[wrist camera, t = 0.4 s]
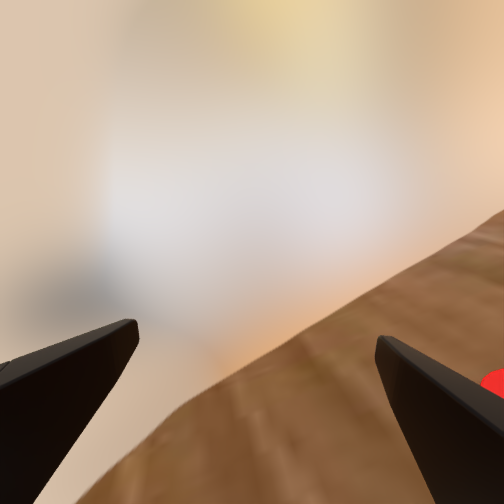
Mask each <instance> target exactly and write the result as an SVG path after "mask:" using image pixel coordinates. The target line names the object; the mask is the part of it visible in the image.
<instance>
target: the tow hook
mask: <svg viewBox="0 0 504 504" xmlns="http://www.w3.org/2000/svg"><path fill="white" fill-rule="evenodd" d="M480 386H482V387H484V388H486V389H487V390H489V391H491V392H493V393H495V394H496V395H498V396H500V397H502V398H504V369H499V370H496V371H493V372H490V373H489V374H488V375H487V376H485V377H484V378H483V380H482V382H481V384H480Z"/></svg>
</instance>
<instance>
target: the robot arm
mask: <svg viewBox="0 0 504 504" xmlns="http://www.w3.org/2000/svg"><path fill="white" fill-rule="evenodd" d="M138 343H139V331H138V323H137V321H136V320H135V319H124V320H120V321H118V322H115V323H112V324H109V325H107V326H104V327H101V328H98V329H96V330H93V331H90V332H87V333H84V334H82V335H79V336H76V337H73V338H71V339H68V340H65V341H62V342H60V343H57V344H54V345H52V346H49V347H46V348H43V349H40V350H38V351H35V352H32V353H29V354H27V355H24V356H21V357H18V358H16V359H13V360H12V361H11V362H10V361H8V362H5V363H2V364H0V504H33V503H34V501H35V500H36V498H37V497H38V496H39V494H40V493H41V491H42V490H43V488H44V487H45V485H46V484H47V482H48V481H49V479H50V478H51V477H52V475H53V474H54V472H55V471H56V469H57V468H58V467H59V465H60V464H61V462H62V461H63V459H64V458H65V456H66V455H67V454H68V452H69V450H70V449H71V448H72V446H73V444H74V443H75V442H76V440H77V439H78V437H79V436H80V435H81V433H82V432H83V430H84V429H85V427H86V426H87V425H88V423H89V422H90V420H91V419H92V417H93V416H94V414H95V413H96V411H97V410H98V409H99V407H100V406H101V404H102V403H103V401H104V400H105V398H106V397H107V395H108V394H109V392H110V391H111V390H112V388H113V387H114V385H115V384H116V382H117V381H118V379H119V377H120V376H121V374H122V372H123V370H124V369H125V367H126V365H127V363H128V362H129V360H130V358H131V356H132V354H133V353H134V351H135V349H136V347H137V345H138ZM375 363H376V366H377V369H378V371H379V374H380V377H381V380H382V383H383V386H384V389H385V392H386V395H387V398H388V400H389V403H390V406H391V408H392V410H393V413H394V415H395V417H396V419H397V421H398V423H399V426H400V428H401V430H402V432H403V434H404V436H405V439H406V441H407V443H408V445H409V447H410V449H411V452H412V454H413V456H414V458H415V460H416V462H417V465H418V467H419V469H420V471H421V473H422V475H423V477H424V480H425V482H426V484H427V486H428V488H429V490H430V493H431V495H432V497H433V499H434V501H435V503H436V504H504V398H502V397H500V396H498V395H496V394H495V393H493V392H491V391H489V390H487V389H486V388H484V387H482V386H480V385H479V384H477V383H475V382H473V381H471V380H470V379H468V378H466V377H464V376H462V375H461V374H459V373H457V372H455V371H453V370H452V369H450V368H448V367H446V366H444V365H443V364H441V363H439V362H437V361H435V360H434V359H432V358H430V357H428V356H427V355H425V354H423V353H421V352H419V351H418V350H416V349H414V348H412V347H410V346H409V345H407V344H405V343H403V342H401V341H400V340H398V339H396V338H394V337H392V336H384V335H380V336H379V337H378V339H377V344H376V350H375Z"/></svg>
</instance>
